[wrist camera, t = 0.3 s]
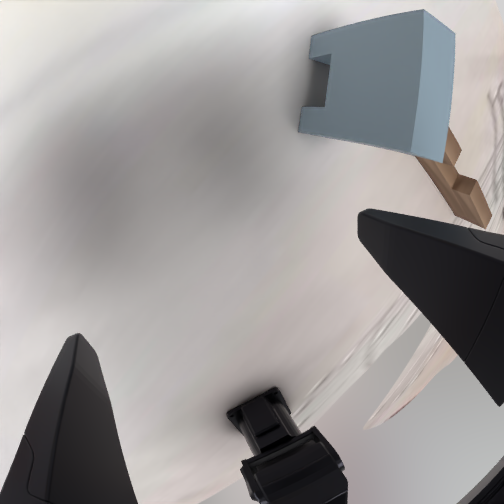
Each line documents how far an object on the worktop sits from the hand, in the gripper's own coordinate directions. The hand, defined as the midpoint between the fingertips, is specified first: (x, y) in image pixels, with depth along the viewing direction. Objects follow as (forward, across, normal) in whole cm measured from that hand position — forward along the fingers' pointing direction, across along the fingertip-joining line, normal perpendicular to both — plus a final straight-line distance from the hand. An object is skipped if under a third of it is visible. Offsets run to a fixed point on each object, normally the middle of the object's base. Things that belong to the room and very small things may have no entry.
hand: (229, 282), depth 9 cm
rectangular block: (+14, -13, -2) cm, 20 cm away
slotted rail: (+13, -26, +8) cm, 30 cm away
